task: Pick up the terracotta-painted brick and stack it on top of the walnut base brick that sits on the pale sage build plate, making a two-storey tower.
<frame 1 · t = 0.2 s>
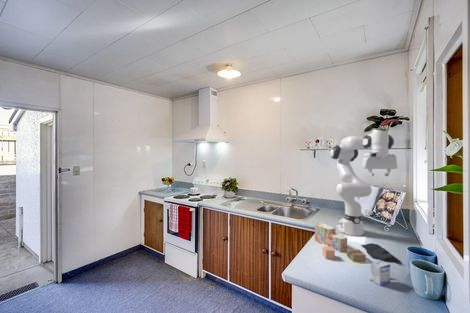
hand: (379, 176, 138), 48 cm above the counter, fingers open, 8 cm apart
stack of blocks: (329, 246, 145), on the counter
base brick: (355, 258, 126), point 1 cm above the counter, touching build plate
medicine box: (380, 281, 106), on the counter
dark slate chunk: (378, 255, 134), on the counter
build plate: (355, 260, 126), on the counter
top brick: (328, 258, 128), on the counter
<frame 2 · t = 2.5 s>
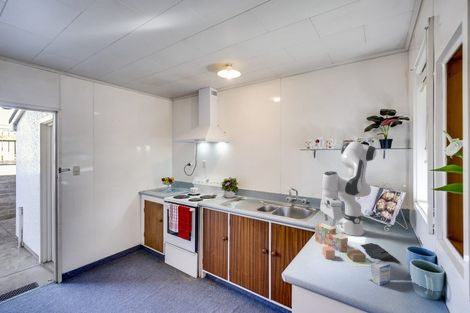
hand: (329, 223, 128), 21 cm above the counter, fingers open, 8 cm apart
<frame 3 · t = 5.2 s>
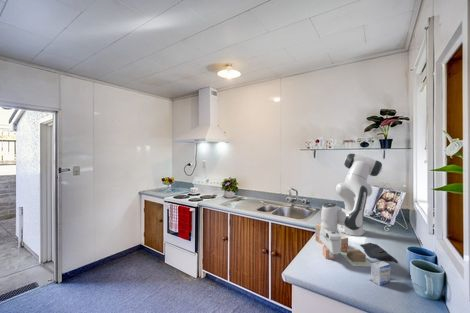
hand: (328, 254, 128), 2 cm above the counter, fingers closed on top brick, 5 cm apart
top brick: (328, 258, 128), on the counter, touching gripper
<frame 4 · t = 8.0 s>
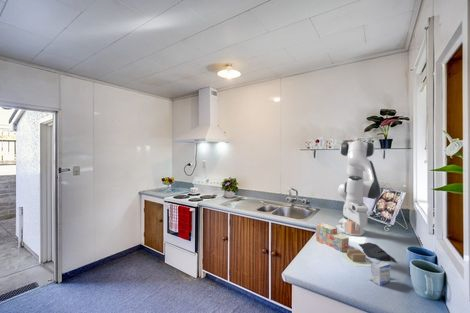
hand: (353, 228, 126), 19 cm above the counter, fingers closed on top brick, 5 cm apart
top brick: (353, 232, 126), point 16 cm above the counter, touching gripper
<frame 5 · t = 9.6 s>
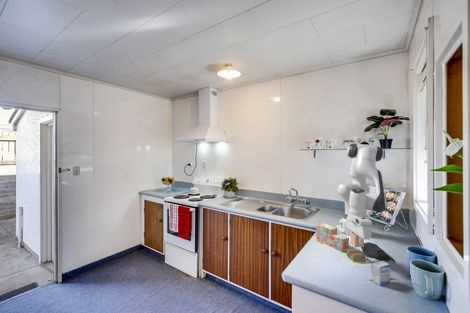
hand: (357, 241, 125), 11 cm above the counter, fingers closed on top brick, 5 cm apart
top brick: (357, 245, 126), point 9 cm above the counter, touching gripper
when the fingers open (8 cm above the counter, at t = 11.0 s): top brick stays where it is, resting on base brick.
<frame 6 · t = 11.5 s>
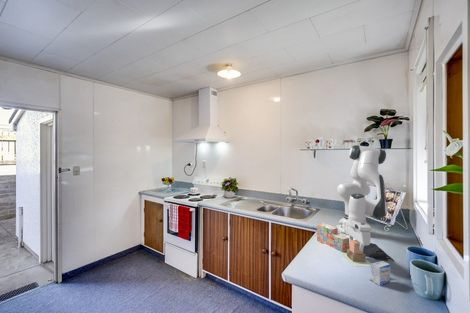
hand: (356, 246, 126), 8 cm above the counter, fingers open, 8 cm apart
base brick: (355, 258, 126), point 1 cm above the counter, touching build plate, top brick
top brick: (356, 251, 126), point 5 cm above the counter, touching base brick
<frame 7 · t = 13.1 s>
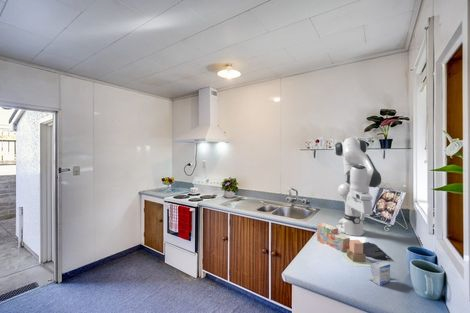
hand: (357, 217, 126), 25 cm above the counter, fingers open, 8 cm apart
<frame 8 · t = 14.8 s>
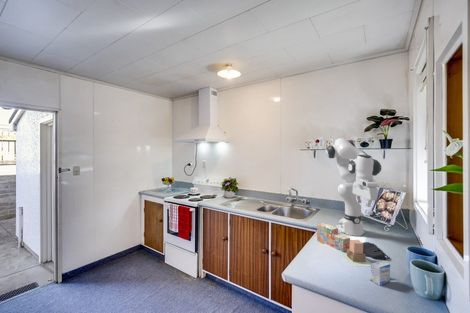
hand: (363, 204, 131), 31 cm above the counter, fingers open, 8 cm apart
at the end: top brick 0.1 cm off-centre on the base brick, point 4.0 cm above the base brick's base; top brick tilted 0°; the gripper is holding nothing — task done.
